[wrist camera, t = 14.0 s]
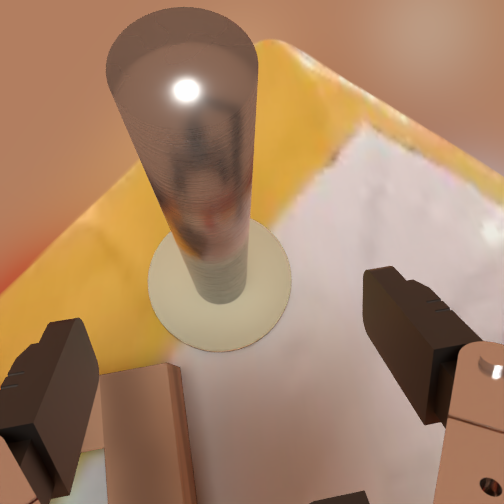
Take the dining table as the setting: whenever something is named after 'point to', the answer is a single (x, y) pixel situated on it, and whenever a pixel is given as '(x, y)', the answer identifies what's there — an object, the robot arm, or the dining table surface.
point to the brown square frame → (143, 436)
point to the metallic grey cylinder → (193, 134)
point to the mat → (221, 315)
